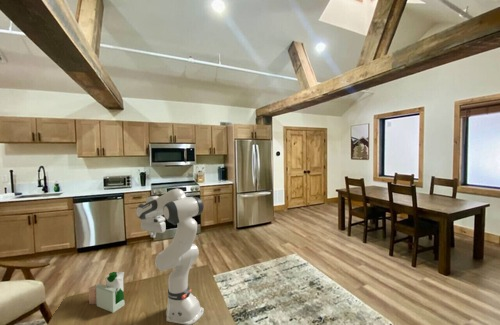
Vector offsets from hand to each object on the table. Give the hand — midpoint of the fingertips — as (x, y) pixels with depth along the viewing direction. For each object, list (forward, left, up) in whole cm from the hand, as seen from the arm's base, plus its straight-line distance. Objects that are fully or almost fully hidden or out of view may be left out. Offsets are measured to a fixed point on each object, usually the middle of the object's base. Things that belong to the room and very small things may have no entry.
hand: (153, 237), depth 160 cm
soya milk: (+8, +24, -35) cm, 43 cm away
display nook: (+8, +27, -35) cm, 45 cm away
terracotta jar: (+21, +28, -35) cm, 50 cm away
